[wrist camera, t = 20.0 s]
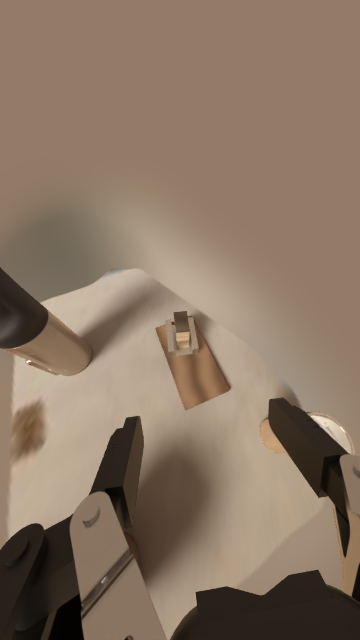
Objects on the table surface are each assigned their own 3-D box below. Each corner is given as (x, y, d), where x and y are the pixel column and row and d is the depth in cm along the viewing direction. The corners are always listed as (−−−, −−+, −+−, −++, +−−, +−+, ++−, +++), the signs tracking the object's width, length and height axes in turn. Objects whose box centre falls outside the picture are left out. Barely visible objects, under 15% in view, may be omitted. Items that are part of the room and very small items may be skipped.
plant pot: (90, 707, 21) (-82, 1233, 7) (50, 559, 27) (-85, 694, 13) (182, 577, 26) (181, 744, 12) (130, 477, 32) (91, 515, 18)
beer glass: (271, 408, 38) (316, 399, 25) (299, 439, 35) (367, 446, 22) (250, 431, 35) (287, 433, 23) (278, 465, 32) (340, 491, 20)
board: (185, 410, 38) (185, 409, 37) (156, 329, 49) (155, 327, 48) (228, 390, 40) (229, 389, 39) (191, 317, 51) (191, 315, 50)
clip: (197, 353, 43) (198, 348, 41) (169, 356, 43) (168, 351, 40) (192, 323, 48) (192, 317, 45) (166, 326, 48) (165, 320, 45)
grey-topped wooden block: (188, 346, 44) (189, 329, 37) (177, 347, 44) (176, 331, 36) (185, 329, 47) (186, 311, 39) (175, 330, 47) (173, 312, 39)
